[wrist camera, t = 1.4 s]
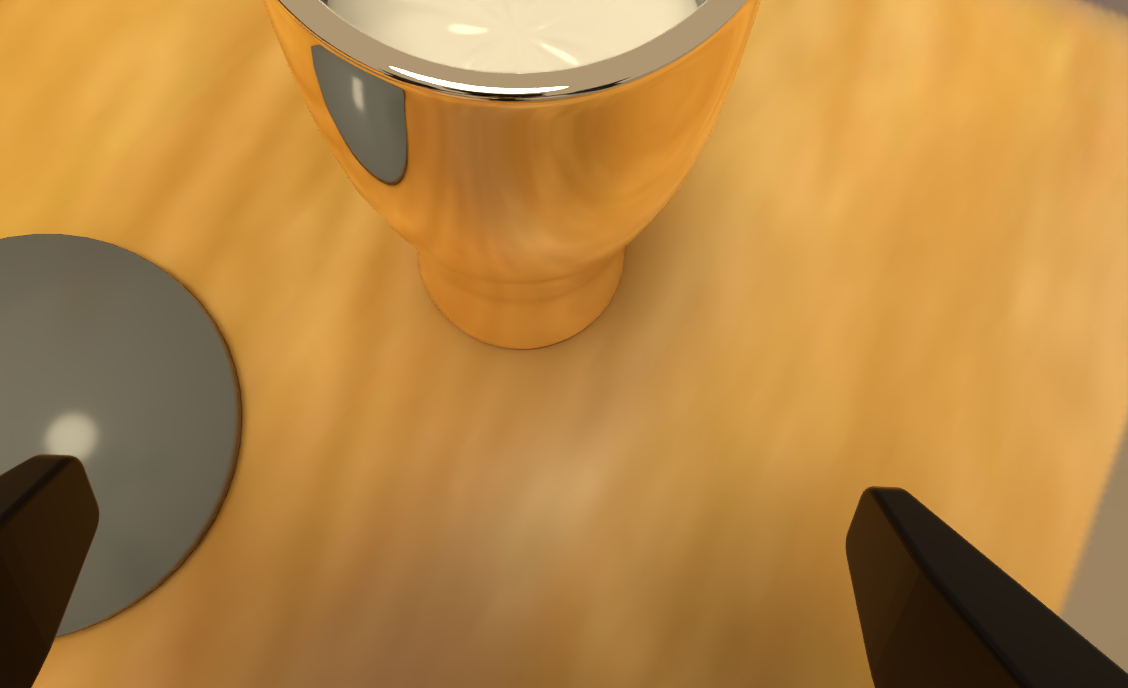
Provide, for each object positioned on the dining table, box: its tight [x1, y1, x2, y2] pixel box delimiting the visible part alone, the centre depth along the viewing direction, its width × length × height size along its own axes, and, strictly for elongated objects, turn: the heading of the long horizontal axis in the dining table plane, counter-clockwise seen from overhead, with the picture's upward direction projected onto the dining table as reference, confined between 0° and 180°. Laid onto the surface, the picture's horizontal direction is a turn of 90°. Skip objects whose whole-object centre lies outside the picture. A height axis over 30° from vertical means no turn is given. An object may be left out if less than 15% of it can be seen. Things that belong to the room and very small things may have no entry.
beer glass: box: [263, 0, 761, 349], centre depth 16 cm, size 7×7×15 cm
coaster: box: [0, 234, 242, 637], centre depth 22 cm, size 11×11×1 cm
